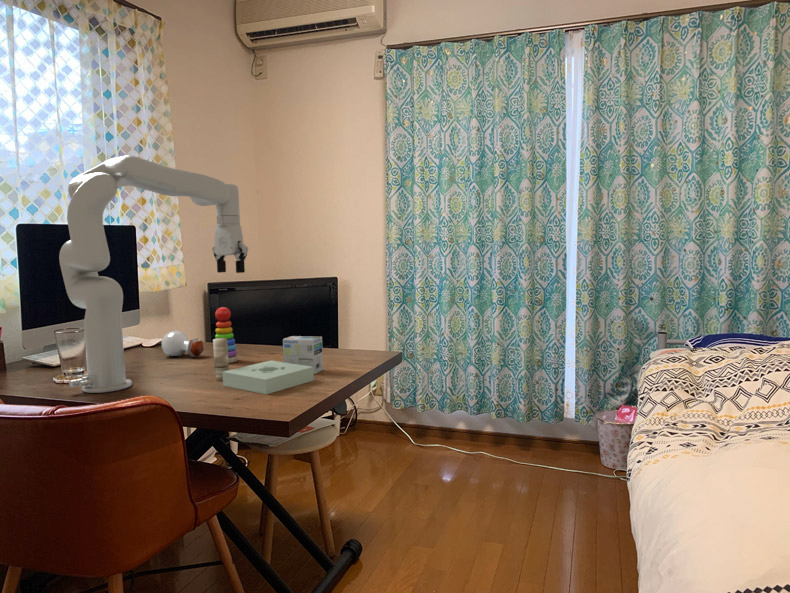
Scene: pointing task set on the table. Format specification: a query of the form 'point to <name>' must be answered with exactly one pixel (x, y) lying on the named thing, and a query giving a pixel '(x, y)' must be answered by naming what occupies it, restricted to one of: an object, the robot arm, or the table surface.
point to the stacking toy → (226, 332)
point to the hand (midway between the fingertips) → (230, 272)
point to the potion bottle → (181, 344)
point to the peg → (220, 357)
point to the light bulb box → (304, 351)
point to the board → (268, 376)
